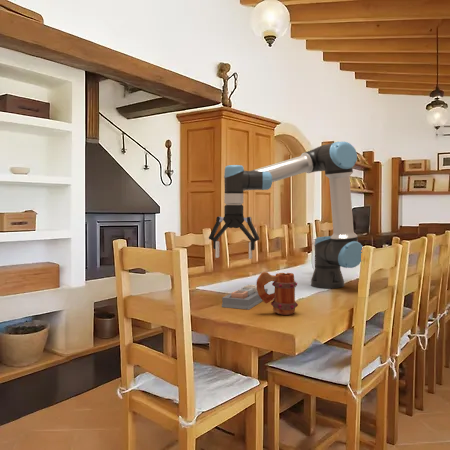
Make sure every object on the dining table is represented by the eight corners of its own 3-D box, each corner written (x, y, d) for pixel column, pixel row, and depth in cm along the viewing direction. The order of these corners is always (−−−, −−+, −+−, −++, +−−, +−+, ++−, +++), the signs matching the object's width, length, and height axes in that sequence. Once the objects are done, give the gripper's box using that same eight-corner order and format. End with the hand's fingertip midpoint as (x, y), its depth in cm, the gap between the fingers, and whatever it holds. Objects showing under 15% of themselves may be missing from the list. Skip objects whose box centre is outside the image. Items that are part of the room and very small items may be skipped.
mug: (295, 310, 166) (295, 269, 166) (300, 316, 158) (300, 273, 157) (255, 311, 166) (255, 270, 165) (257, 316, 158) (257, 273, 157)
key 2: (253, 294, 182) (253, 288, 182) (249, 297, 177) (249, 290, 177) (242, 293, 184) (242, 287, 184) (237, 296, 179) (237, 289, 179)
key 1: (259, 291, 188) (259, 285, 188) (255, 293, 183) (255, 287, 183) (248, 290, 190) (248, 284, 190) (243, 292, 185) (243, 286, 185)
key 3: (247, 297, 176) (247, 291, 176) (243, 300, 172) (243, 293, 171) (236, 296, 178) (236, 290, 178) (231, 299, 173) (231, 292, 173)
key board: (267, 297, 189) (267, 288, 188) (248, 309, 168) (248, 299, 168) (243, 295, 193) (243, 287, 193) (221, 307, 173) (221, 297, 173)
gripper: (266, 204, 181) (266, 257, 182) (206, 204, 188) (207, 255, 189) (263, 204, 174) (262, 260, 175) (200, 204, 181) (201, 257, 182)
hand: (233, 258), depth 182 cm, fingers open, 13 cm apart
